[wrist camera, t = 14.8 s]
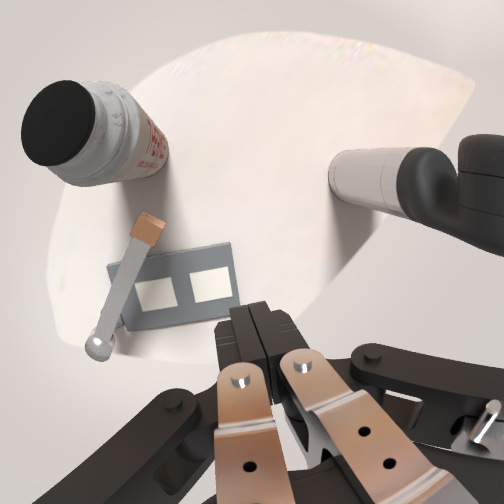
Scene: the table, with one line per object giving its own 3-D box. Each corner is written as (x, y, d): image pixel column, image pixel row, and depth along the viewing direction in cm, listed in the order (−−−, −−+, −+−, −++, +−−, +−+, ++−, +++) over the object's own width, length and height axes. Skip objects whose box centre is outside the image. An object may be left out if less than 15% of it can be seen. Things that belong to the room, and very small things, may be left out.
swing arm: (111, 351, 37) (106, 366, 33) (88, 340, 35) (82, 354, 32) (168, 224, 34) (166, 230, 30) (141, 209, 32) (135, 214, 29)
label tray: (229, 241, 43) (230, 244, 42) (240, 309, 47) (241, 313, 46) (108, 264, 40) (105, 267, 39) (128, 327, 44) (127, 332, 42)
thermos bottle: (176, 134, 37) (145, 65, 11) (157, 184, 38) (89, 212, 12) (128, 119, 35) (34, 50, 8) (110, 169, 36) (-11, 177, 10)
